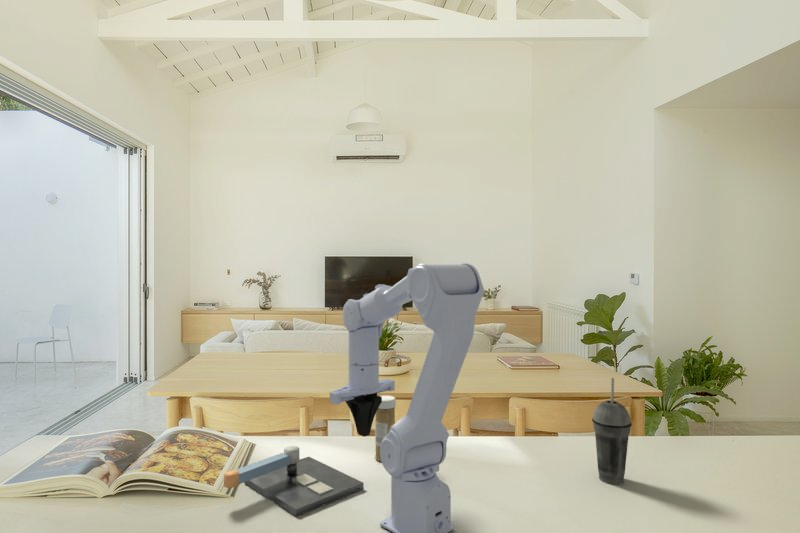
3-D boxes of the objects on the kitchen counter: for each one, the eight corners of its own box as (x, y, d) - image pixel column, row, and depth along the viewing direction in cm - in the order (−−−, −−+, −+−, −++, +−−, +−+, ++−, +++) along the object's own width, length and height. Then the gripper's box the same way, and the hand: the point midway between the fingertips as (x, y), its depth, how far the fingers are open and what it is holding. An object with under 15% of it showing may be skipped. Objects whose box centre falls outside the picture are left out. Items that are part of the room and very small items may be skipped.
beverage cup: (589, 482, 101) (590, 380, 101) (594, 469, 107) (594, 373, 107) (629, 490, 97) (630, 385, 97) (632, 476, 104) (633, 377, 104)
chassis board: (363, 489, 98) (363, 471, 98) (296, 516, 87) (295, 496, 87) (308, 462, 111) (308, 446, 111) (244, 483, 100) (244, 465, 100)
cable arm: (229, 489, 89) (229, 475, 89) (220, 484, 91) (220, 470, 91) (302, 461, 102) (302, 448, 102) (292, 457, 104) (292, 445, 104)
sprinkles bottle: (399, 460, 112) (399, 398, 112) (381, 464, 109) (381, 401, 109) (388, 453, 116) (388, 393, 116) (370, 457, 113) (370, 396, 113)
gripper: (377, 355, 105) (377, 421, 106) (319, 365, 95) (319, 438, 95) (402, 359, 100) (402, 429, 101) (343, 371, 90) (343, 448, 90)
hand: (363, 434), depth 98 cm, fingers closed
